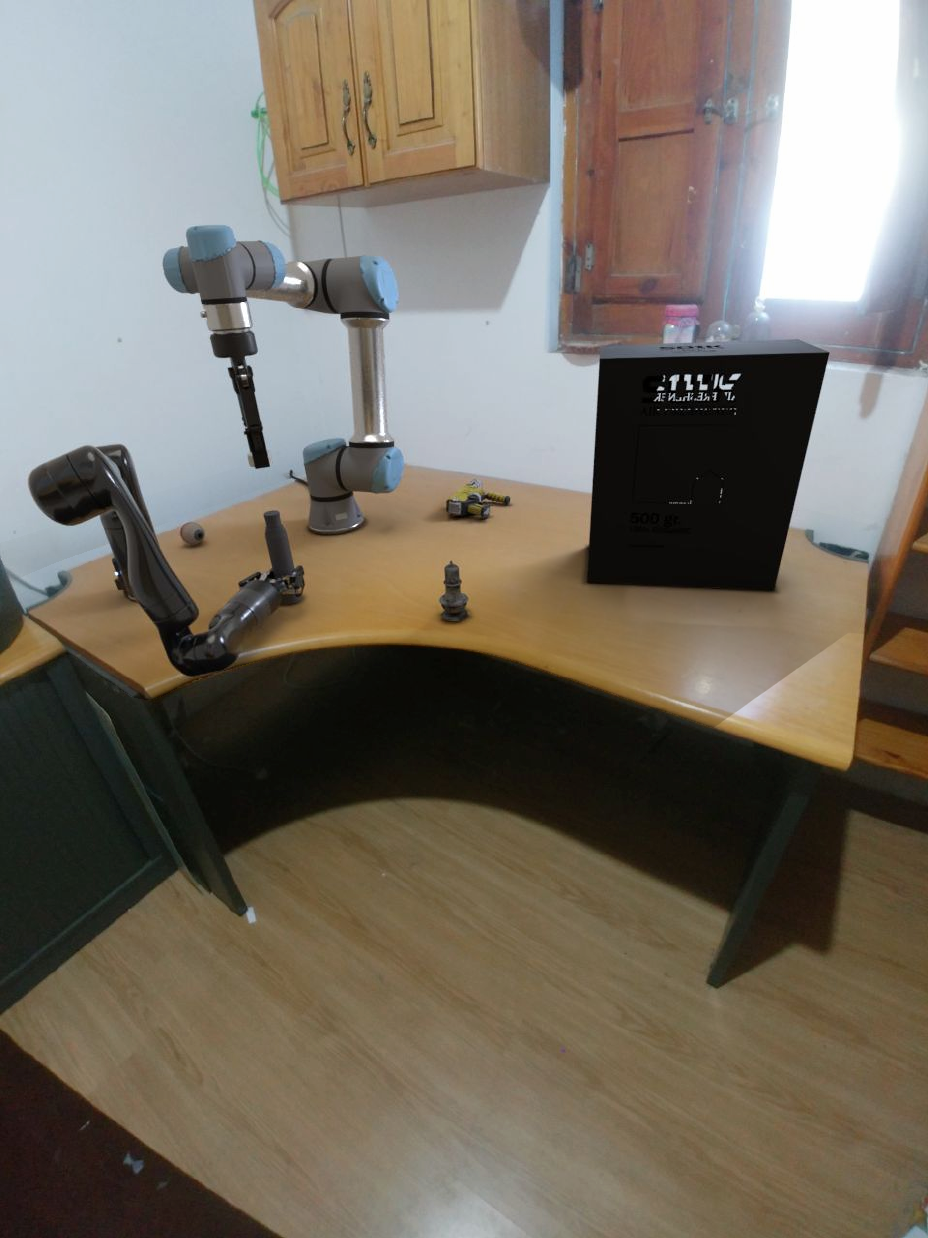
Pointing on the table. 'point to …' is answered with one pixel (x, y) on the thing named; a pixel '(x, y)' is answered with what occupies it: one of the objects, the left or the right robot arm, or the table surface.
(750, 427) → the cardboard box
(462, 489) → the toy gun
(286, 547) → the bottle
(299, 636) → the table surface
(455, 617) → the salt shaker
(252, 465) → the cap
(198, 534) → the eyeball
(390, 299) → the right robot arm
